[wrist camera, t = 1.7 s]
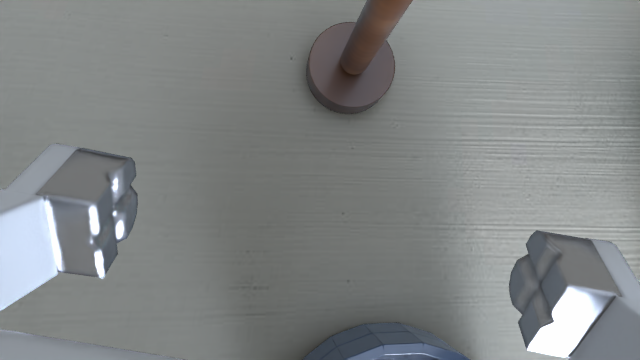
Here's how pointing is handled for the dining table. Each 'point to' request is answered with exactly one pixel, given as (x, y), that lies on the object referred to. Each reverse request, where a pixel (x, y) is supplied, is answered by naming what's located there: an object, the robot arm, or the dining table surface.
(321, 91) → the wooden plunger
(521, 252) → the dining table surface
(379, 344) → the bowl
